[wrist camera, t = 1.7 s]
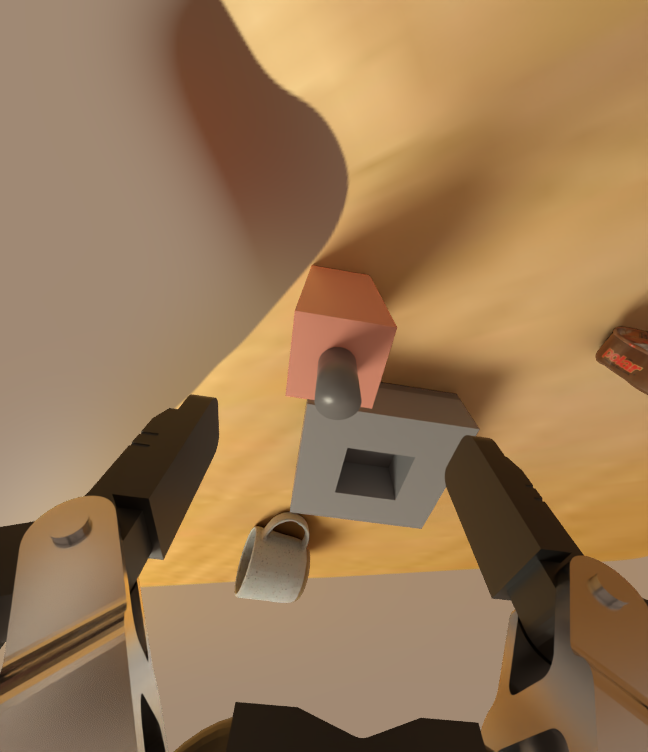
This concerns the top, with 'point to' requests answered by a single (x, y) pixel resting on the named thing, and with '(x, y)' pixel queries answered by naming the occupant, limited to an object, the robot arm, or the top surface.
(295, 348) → the plug
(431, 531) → the top surface
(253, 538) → the ceramic mug
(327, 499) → the socket block
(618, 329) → the tin
